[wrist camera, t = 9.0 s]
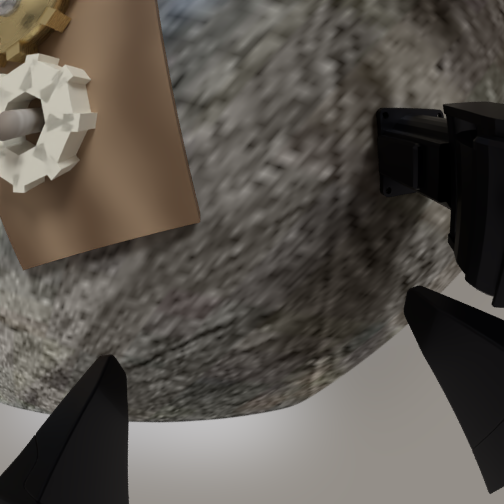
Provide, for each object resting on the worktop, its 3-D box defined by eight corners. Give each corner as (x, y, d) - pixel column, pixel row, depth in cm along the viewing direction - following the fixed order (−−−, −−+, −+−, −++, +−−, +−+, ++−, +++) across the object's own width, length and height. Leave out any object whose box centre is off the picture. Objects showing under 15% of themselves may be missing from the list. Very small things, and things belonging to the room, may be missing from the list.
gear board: (148, -72, 8) (136, -113, 3) (200, 213, 18) (200, 253, 13) (-16, 12, 7) (-56, 3, 2) (32, 260, 17) (-2, 301, 12)
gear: (82, -50, 7) (61, -75, 3) (85, 33, 10) (55, 16, 7) (-8, 4, 6) (-39, -5, 3) (-8, 87, 10) (-46, 90, 6)
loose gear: (85, 41, 10) (67, 32, 8) (108, 155, 14) (92, 163, 12) (-6, 94, 10) (-29, 96, 8) (17, 194, 13) (-4, 207, 11)
